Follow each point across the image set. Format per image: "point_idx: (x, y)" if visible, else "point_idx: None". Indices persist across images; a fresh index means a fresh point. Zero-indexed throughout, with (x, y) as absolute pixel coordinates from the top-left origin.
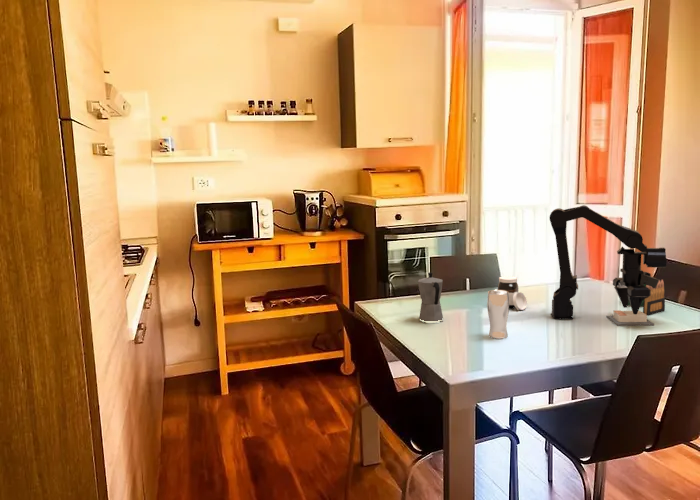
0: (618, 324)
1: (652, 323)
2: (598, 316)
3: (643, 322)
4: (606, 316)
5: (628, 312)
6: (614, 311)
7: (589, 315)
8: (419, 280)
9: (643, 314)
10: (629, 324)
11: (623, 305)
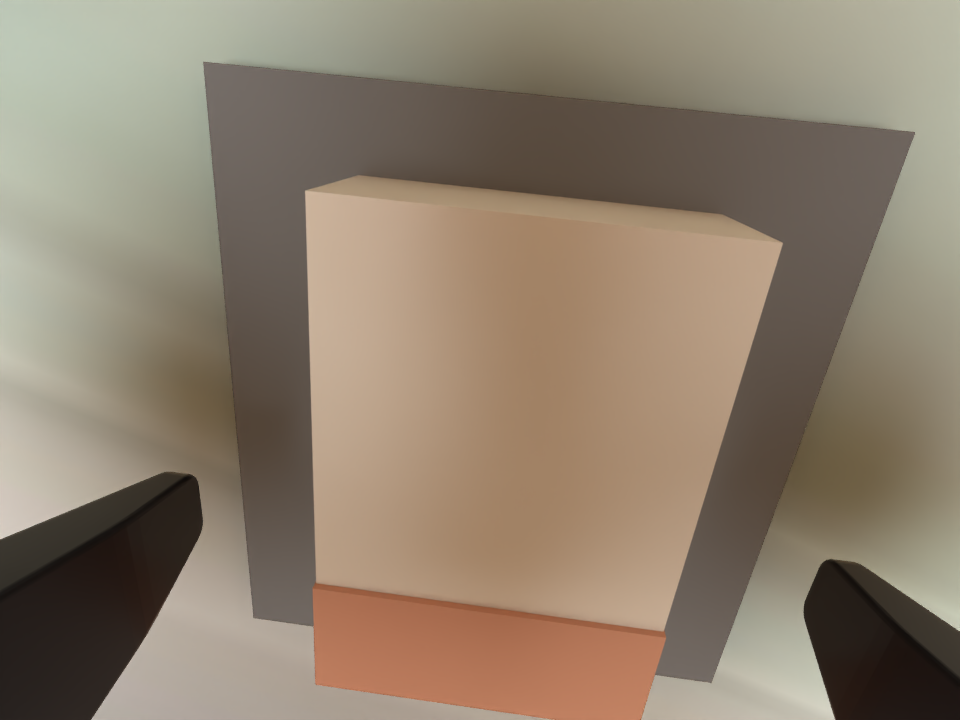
0: (715, 665)
1: (875, 155)
2: (225, 655)
3: None
4: (267, 610)
5: (458, 514)
6: (374, 690)
7: (184, 713)
8: None
9: (697, 297)
10: (759, 544)
11: (174, 575)
